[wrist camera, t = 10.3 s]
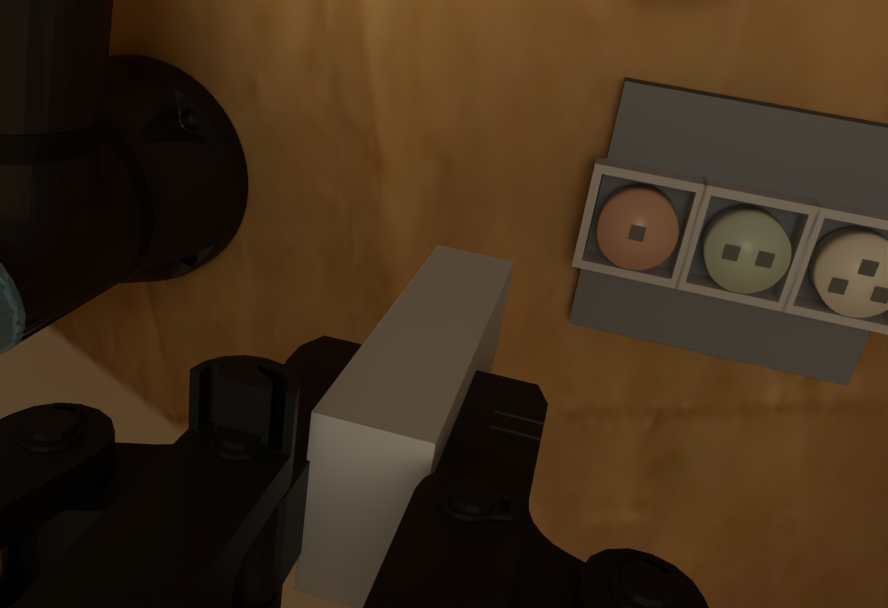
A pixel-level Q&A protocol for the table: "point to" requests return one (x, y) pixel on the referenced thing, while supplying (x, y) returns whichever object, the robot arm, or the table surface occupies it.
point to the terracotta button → (637, 227)
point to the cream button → (852, 271)
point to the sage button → (745, 249)
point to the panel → (717, 188)
